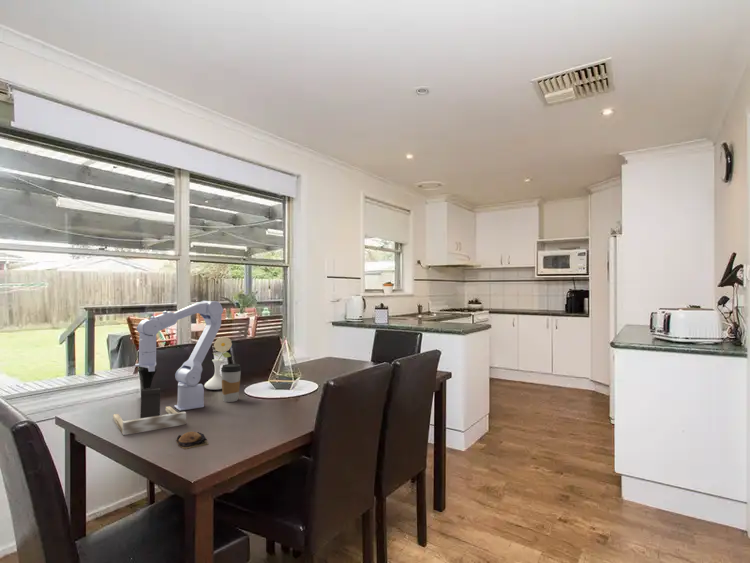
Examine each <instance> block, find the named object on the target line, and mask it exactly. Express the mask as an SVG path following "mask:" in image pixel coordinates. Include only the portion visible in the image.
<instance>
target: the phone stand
mask: <svg viewBox="0 0 750 563" xmlns="http://www.w3.org/2000/svg"><path fill="white" fill-rule="evenodd" d="M140 396H141V398H140V417H139V419H140V418H147V417H153V416H159V415H161V387H157V388H156V387H155V388H145V389H144V388H143V389H142V388H141V393H140Z"/></svg>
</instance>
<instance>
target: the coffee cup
mask: <svg viewBox="0 0 750 563" xmlns="http://www.w3.org/2000/svg"><path fill="white" fill-rule="evenodd" d="M241 372H242V367H241V364H239V363H226V364H222V367H220V373H221V377H222V389H221V391H222V392H221V393H222V400H223V402H225V403H233V402H237V401H238V399H239V395H240V386H241Z"/></svg>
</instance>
